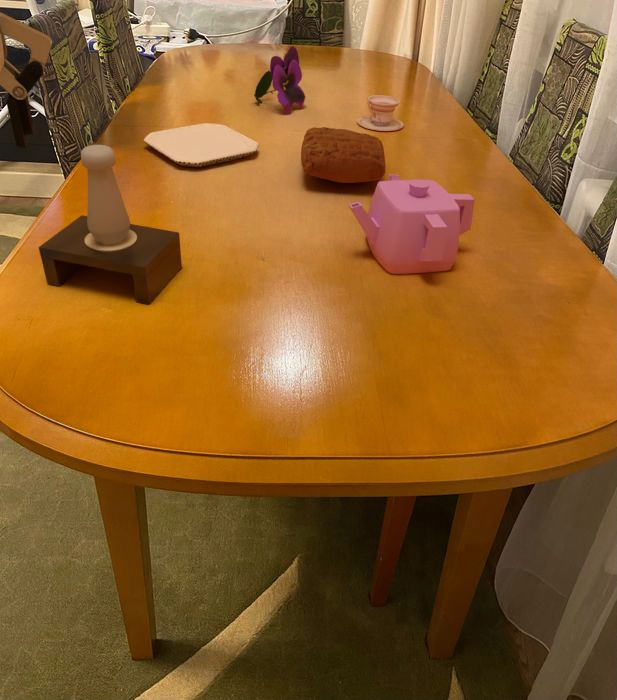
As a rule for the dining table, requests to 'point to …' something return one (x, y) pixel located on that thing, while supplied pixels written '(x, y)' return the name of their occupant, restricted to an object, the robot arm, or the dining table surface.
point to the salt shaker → (104, 197)
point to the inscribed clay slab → (342, 155)
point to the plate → (201, 144)
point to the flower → (283, 81)
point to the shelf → (115, 256)
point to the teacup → (381, 114)
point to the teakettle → (414, 225)
